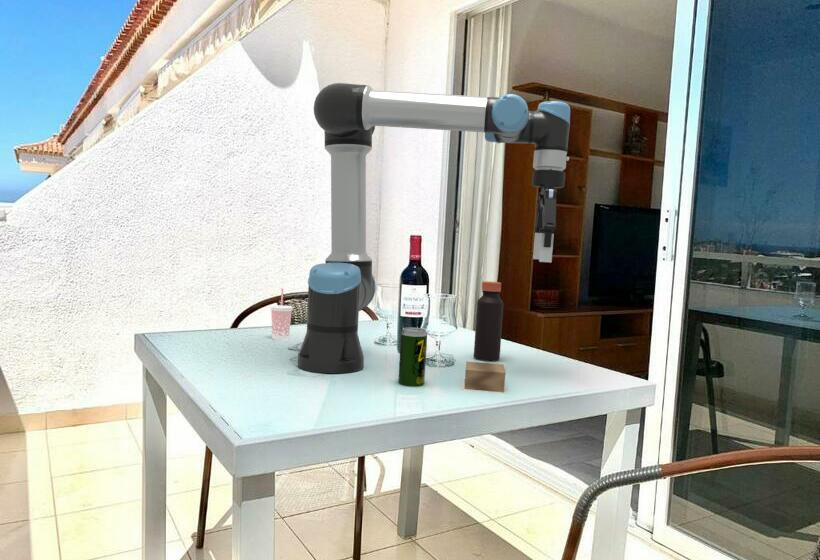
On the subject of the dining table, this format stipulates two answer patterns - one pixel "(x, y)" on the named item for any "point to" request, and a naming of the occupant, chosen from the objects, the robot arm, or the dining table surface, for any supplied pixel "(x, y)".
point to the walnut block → (484, 376)
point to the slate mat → (481, 390)
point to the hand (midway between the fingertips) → (541, 260)
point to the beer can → (412, 357)
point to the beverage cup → (281, 320)
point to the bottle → (489, 323)
